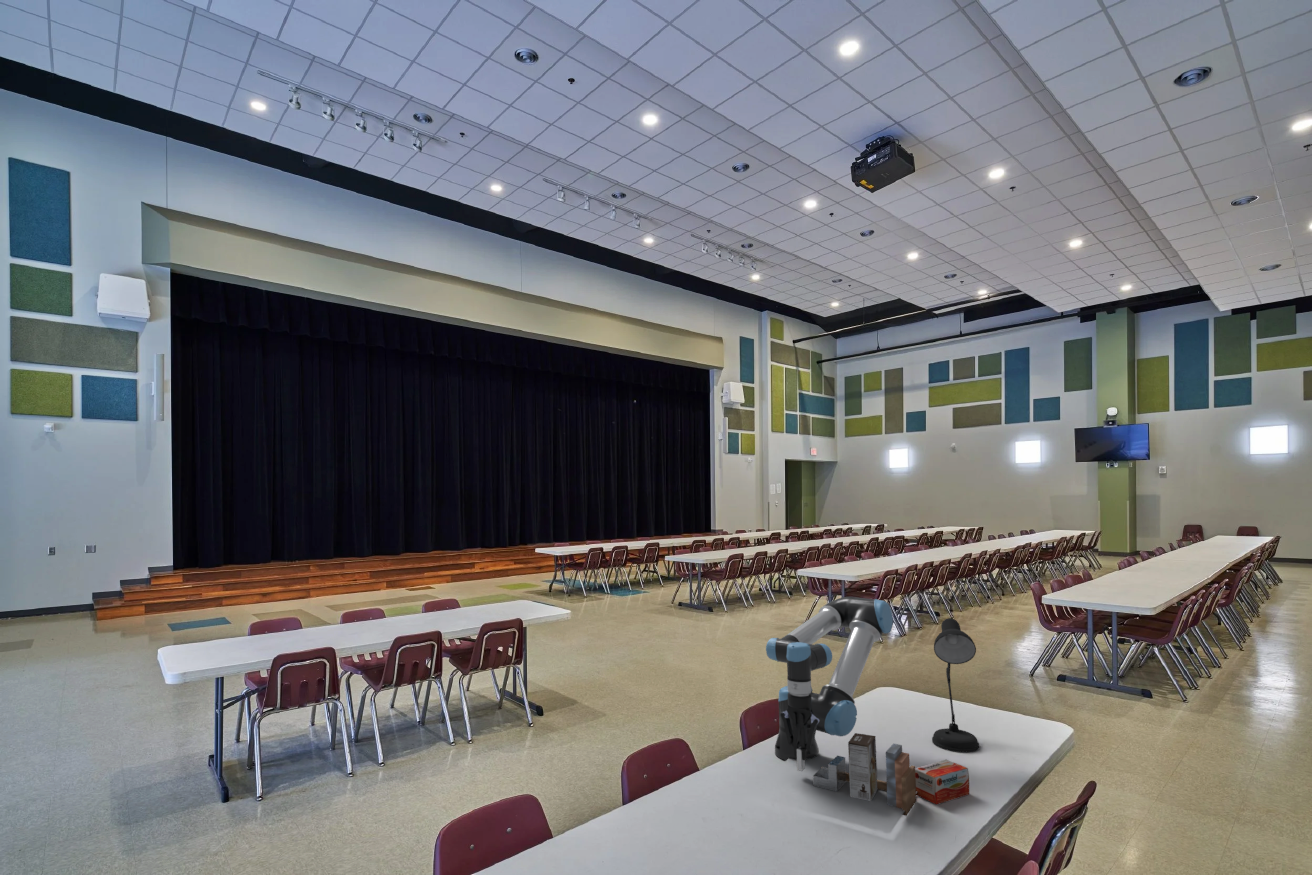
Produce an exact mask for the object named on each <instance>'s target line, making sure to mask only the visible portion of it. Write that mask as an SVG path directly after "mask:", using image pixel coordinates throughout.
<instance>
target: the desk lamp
mask: <svg viewBox="0 0 1312 875" xmlns="http://www.w3.org/2000/svg"><path fill="white" fill-rule="evenodd" d="M940 626H941V632H940V633H939V634H937V636H936V637H935V639H934V642H933V651H934V654H935V655H936V657H937V658H938V659H939V660H940V661H942V662H945V663H947V667H946V669H945V672H946V673H945V674H946V680H947V684H948V686H947V687H948V693H949V701H950V702H949V703H950V712H951V723H949V724H948V727H947V728H940V729H937V730H936V731H934V733H933V736H932V737H931V741H932V744H933V745H934V746H936V747H938V748H940V749H943V750H947V751H949V752H954V751H955V752H956V753H973V752H976V751H978V750H979V749H980V743H979V741H978V739H977V738H978V737H976V735H974V734H973V733H971V732H968V731H966V730H963V729H959V725H958V724H957V723H956V719H955V718H956V717H955V710H954V706H953V705H954V704H953V695H952V688H951V687H952V686H951V665H959V664H960V665H961V664H965V663H968V662H970V661H971V660H972V659H973V658H974V657H975V656H976V653H977V647H976V645H975V642H974V640H973V639H972V637H971V636H970V635H969V634H967V633H966V632H964V631H963V630H961V626H960V623H959V622H958V620H956V619H954V618H951V617H950V618H946V619H944V620H943V621H942V623H941V625H940Z"/></svg>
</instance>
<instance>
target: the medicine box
mask: <svg viewBox="0 0 1312 875" xmlns="http://www.w3.org/2000/svg"><path fill="white" fill-rule="evenodd" d="M915 778H916V797H920V798H922V799H924V800H926V801H928V802H930V803H932V804H934V805H940V804H943V803H946V802H950V801H952V800H956V799H959V798H962V797H965V796H968V795H971V794H970V774H969V768H968V767H966V766H963V765H961V764H959V763H956V762H954V761H952V760H951V761H950V760H949V759H943V760H939V761H935V762H933V763H929V764H925V765H922V766H918V767H915Z"/></svg>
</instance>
